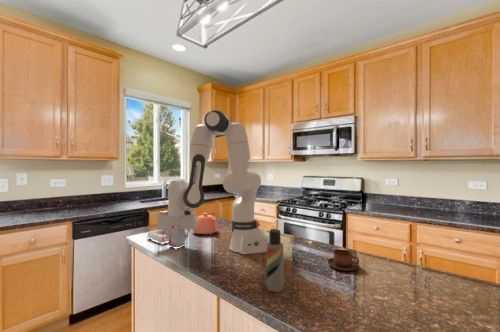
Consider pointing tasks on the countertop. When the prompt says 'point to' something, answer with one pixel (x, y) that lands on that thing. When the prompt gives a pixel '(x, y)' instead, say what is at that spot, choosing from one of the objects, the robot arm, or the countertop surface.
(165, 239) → the frame
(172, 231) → the supplement box
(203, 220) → the teapot
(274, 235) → the lotion bottle
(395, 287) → the countertop surface
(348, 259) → the cup and saucer
